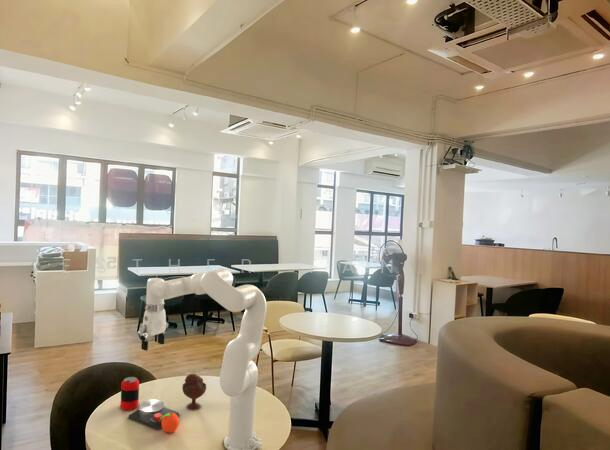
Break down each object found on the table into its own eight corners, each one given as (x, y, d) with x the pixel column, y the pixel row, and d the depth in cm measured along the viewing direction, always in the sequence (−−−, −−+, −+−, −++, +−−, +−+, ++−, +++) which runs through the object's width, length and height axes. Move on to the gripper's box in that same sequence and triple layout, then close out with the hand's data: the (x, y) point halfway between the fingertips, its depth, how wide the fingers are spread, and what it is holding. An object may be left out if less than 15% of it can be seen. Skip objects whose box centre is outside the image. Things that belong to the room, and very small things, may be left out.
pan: (169, 405, 160) (169, 403, 160) (152, 416, 150) (152, 414, 150) (150, 398, 165) (150, 396, 165) (132, 409, 155) (132, 407, 155)
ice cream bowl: (201, 414, 159) (203, 380, 159) (177, 410, 161) (178, 376, 161) (208, 402, 169) (210, 370, 169) (185, 399, 172) (187, 367, 171)
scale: (179, 415, 157) (179, 408, 157) (158, 431, 145) (158, 423, 145) (150, 405, 165) (150, 398, 165) (127, 419, 153) (128, 411, 153)
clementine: (159, 438, 141) (160, 419, 141) (157, 428, 147) (157, 410, 147) (180, 434, 144) (181, 416, 144) (176, 425, 150) (177, 407, 150)
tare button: (163, 418, 150) (163, 414, 150) (158, 421, 147) (158, 418, 147) (157, 416, 151) (157, 412, 151) (152, 419, 149) (152, 415, 149)
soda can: (117, 409, 160) (118, 381, 160) (126, 401, 168) (127, 375, 168) (132, 412, 159) (133, 384, 158) (141, 403, 166) (142, 377, 166)
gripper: (146, 312, 149) (144, 354, 149) (174, 305, 164) (173, 343, 164) (133, 309, 153) (131, 350, 153) (162, 302, 168) (160, 339, 168)
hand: (152, 346), depth 159 cm, fingers open, 9 cm apart
